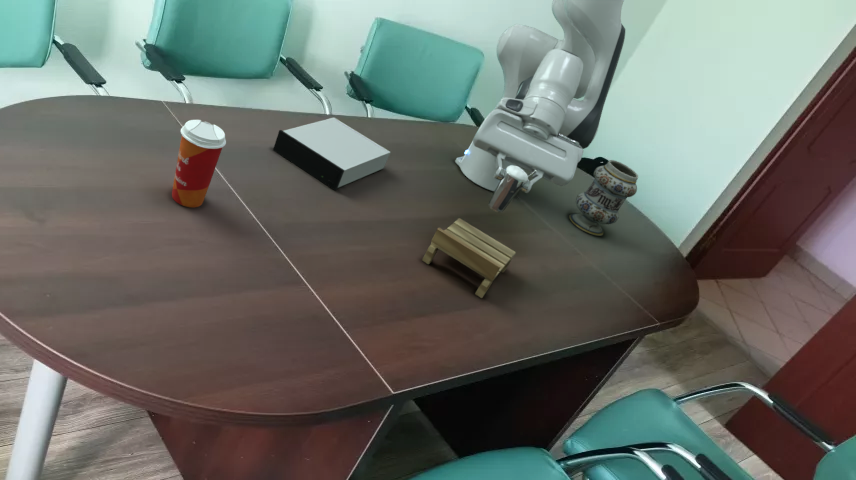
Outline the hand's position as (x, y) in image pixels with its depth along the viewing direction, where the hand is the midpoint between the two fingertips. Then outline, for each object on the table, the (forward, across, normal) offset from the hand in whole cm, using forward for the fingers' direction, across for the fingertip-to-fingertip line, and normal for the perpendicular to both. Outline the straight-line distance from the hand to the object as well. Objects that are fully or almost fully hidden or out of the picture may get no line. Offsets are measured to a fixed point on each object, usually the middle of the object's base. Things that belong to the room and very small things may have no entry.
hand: (511, 184), depth 127 cm
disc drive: (+1, +36, -28) cm, 46 cm away
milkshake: (+4, 0, -5) cm, 6 cm away
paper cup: (+30, +52, +1) cm, 60 cm away
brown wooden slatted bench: (+14, 0, -14) cm, 20 cm away
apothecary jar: (-22, -30, -51) cm, 63 cm away
